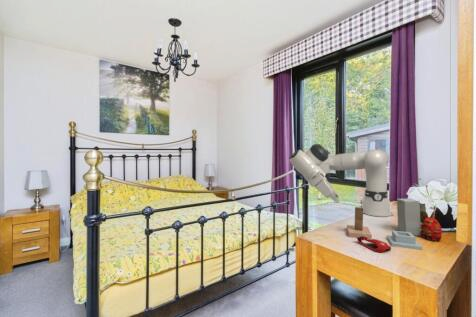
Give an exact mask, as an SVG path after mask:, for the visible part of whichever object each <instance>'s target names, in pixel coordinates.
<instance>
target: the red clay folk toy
mask: <svg viewBox="0 0 476 317" xmlns="http://www.w3.org/2000/svg"><path fill="white" fill-rule="evenodd" d="M436 206H437V204H435V205H434V206H430V207H429V209H430V210H431V209H433V212H432V217H431V218H429V217H425V218H424V221H423V222H422V223H421V236H420V237H422V238H424V239H427V240H428V241H430V242H437V241H441V240H442V236H443V231H442V227H441V223H439V221H438V220H437V219H436V218H435V215H436V213H435V212H436Z"/></svg>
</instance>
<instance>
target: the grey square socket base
mask: <svg viewBox="0 0 476 317" xmlns="http://www.w3.org/2000/svg"><path fill="white" fill-rule="evenodd" d="M386 239H387V241H388V243H389V244H390V245H391V247H395V248H404V249H405V248H406V249H411V250H419V251H420V250H421V251H423V246H422V245H421V244H420V243H419V242H418V241H417V240H416V236H413V235H412V234H411V233H410V232H402V231H399V230H393V229H392V232H391V235H388V234H387V235H386Z"/></svg>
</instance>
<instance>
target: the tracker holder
mask: <svg viewBox="0 0 476 317" xmlns="http://www.w3.org/2000/svg"><path fill="white" fill-rule="evenodd" d="M355 239H357V242H358V243H360V245H361V246H363V247H366V248H367V249H369V250H371V251H374V252H377V253H383V252H385V251H386V250H392V246H390V245H389V244H388V243H387V242H385V241H383V240H380V239H378V238H377V239H375V238H372V240H371V239H368V237H367V236H364V235H362V236H358V237H356V238H355ZM363 241H366V242H367V243H371V244H373V245H375V246H377V248H373V247H371V246H369V245H368V244H365V243H364V242H363Z"/></svg>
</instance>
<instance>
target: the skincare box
mask: <svg viewBox="0 0 476 317" xmlns="http://www.w3.org/2000/svg"><path fill="white" fill-rule="evenodd" d="M420 205H421V202H420V201H419V200H416V199H413V198H396V210H397V231H402V232H410V233H411V234H412V235H413V236H414V237H416V236H417V237H421V225H422V223H421V206H420Z"/></svg>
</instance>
